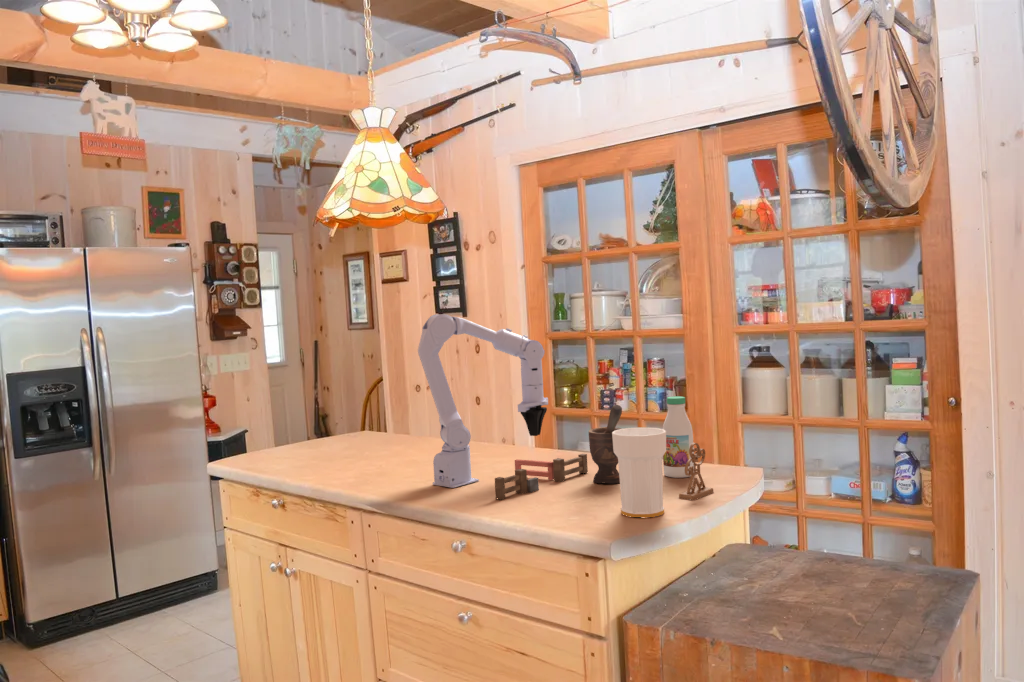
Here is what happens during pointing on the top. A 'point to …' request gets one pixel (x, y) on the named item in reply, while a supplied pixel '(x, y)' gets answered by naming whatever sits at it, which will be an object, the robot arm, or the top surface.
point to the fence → (532, 484)
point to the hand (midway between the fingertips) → (535, 435)
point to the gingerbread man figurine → (692, 491)
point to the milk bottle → (677, 438)
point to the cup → (640, 469)
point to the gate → (533, 472)
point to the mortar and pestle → (605, 449)
